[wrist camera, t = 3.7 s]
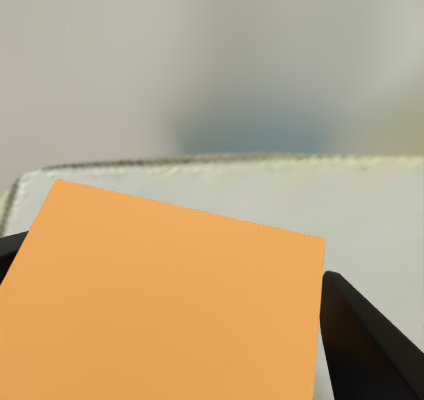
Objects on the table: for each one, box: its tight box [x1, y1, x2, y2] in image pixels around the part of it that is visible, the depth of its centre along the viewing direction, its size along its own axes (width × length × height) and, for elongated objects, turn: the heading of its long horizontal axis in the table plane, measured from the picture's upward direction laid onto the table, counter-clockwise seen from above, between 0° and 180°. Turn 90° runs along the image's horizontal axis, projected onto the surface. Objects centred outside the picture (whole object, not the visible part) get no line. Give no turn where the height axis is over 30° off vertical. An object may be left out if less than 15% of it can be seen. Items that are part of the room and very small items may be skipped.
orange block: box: [0, 179, 325, 400], centre depth 8 cm, size 3×5×11 cm
